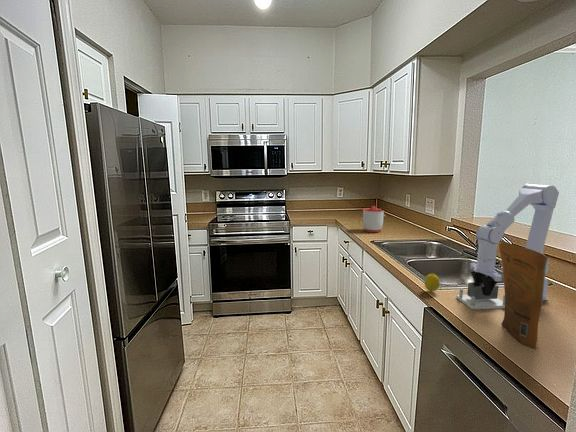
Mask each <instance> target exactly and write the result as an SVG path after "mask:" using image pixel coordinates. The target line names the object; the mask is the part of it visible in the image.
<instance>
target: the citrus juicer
mask: <svg viewBox="0 0 576 432" xmlns="http://www.w3.org/2000/svg"><path fill="white" fill-rule="evenodd" d="M362 211H363V213H362V224H363V225H362V226H363V229H364V232H366V233H378V232H379V233H380V232H381V231H382V229H383V226H384V225H383V224H384V217H386V216H387V215H386V214H385V209H384V210H383V209H382V208H377V207H376V205H372V206H371V207H367V208H363V209H362Z"/></svg>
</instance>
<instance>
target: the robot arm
mask: <svg viewBox="0 0 576 432" xmlns="http://www.w3.org/2000/svg"><path fill="white" fill-rule="evenodd" d="M559 194H560V192H559V190H558V189H557V187H556V186H555V185H551V184H550V185H547V184H546V185H545V184H531V183H526V184H524V185H523V186H522V187H521V188H520V189H519V190H518V196H517V197H516V198H515V199H514V201H512V202H511V204H509V206H508V207H507V208H506V210H501V211H498V212H497V213H496V214H495V216H494V217H492V218H491V219H490V221H488V223H486V224H484V225H481V226H479V227H478V228H477V230H476V232H475V237H476V239H477V244H478V247H477V249H478V250H477V257H476V258H477V259H476V260H477V261H476V263H474V262H471V263H470V267H469V268H470V269H472V271H470V274H471V277H472V278H473V282H483V287H484V288H483V293H484V295H485V296H490V295H491V293H492V290H493V288H494V287H495V285H497V284H498V283H499V282H502V279H503V275H501V274H499V273H498V272H497V271H496V260H497V251H498V250H497V249H498V243H500V242H502V241H503V240H502V239H503V237H504V234H505V233H506V230H507V229H508V228H509V227H511V225H512V224H514V222H515V217H516V216H517V215H518V214H520V213H521V212H522V211H523V210H524V209H526V208H527V207H528V206H529V205H530V206H532V208H533V209H534V214H533V217H532V222H531V225H530V229H529V233H528V237H527V241H526V244H525V248H528V249H531V250H534V251H536V252H539V253H541V254H543V255H545V254H544V253H543V252H544V248H545V244H546V240H547V236H548V232H549V228H550V226H551V221H552V216H553V215H554V209H555V208H556V205H557V201H558V198H559ZM548 272H549V258H548V260H547V264H546V271H545V279H544V290H543V301H548V300H549V298H547V295H548V286H549V282H548V279H547V277H546V275H547V274H548Z"/></svg>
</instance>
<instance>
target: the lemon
mask: <svg viewBox="0 0 576 432" xmlns="http://www.w3.org/2000/svg"><path fill="white" fill-rule="evenodd" d="M440 283H441V282H440V279H439V277H438V275H436V274H435V273H433V272H432V273H429V274H427V275H426V276H425V279H424V287H425V288H426V289H427V291H429V292H431V293H432V292H436V291H437V290H438V289H439V287H440V285H441V284H440Z"/></svg>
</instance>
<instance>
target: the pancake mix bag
mask: <svg viewBox="0 0 576 432" xmlns="http://www.w3.org/2000/svg"><path fill="white" fill-rule="evenodd" d="M498 243H499V244H498V250H499V254H500V258H501V259H500V260H501V269H502V279H503V287H504V295H505V308H504V317H503V320H502V322H501V327H502V328H503V329H504V330H506V331H507V332H508V333H509V334H510V335H511V336H512V337H514V339H516V340H517V342H518V343H520V344H522V345H524V346H526V347H530V348H533V349H536V350H537V349H538V347H537V346H538V340H539V339H538V337H539V336H538V334H539V333H538V332H539V322H540V316H541V311H542V305H543V301H544V300H543V290H544V279H545V277H546V275H545V271H546V264H547V260H548V259H549V257H548V256H546V255H545V254H544V253H543V254H544V255H543V254H541V253H539V252H536V251H534V250H531V249H528V248H526V247H523V246H520V245H516V244H513V243H510V242H507V241H506V240H501V241H500V242H498Z"/></svg>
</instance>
